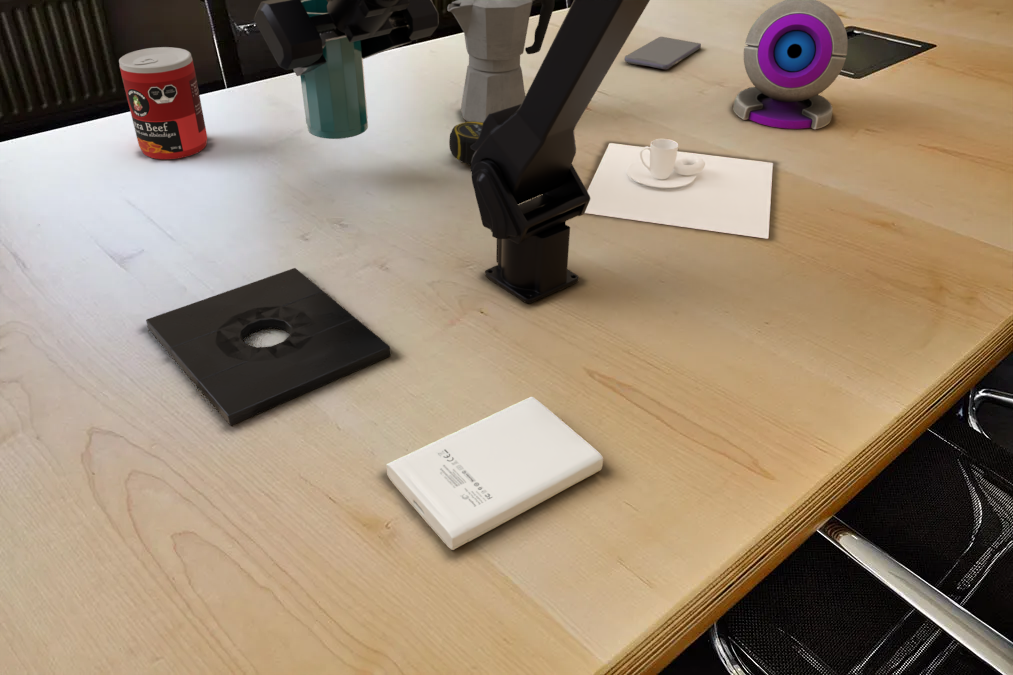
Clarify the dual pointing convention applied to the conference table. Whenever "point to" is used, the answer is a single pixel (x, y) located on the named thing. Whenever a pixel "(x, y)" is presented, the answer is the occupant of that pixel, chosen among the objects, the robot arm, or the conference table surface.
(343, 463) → the conference table surface
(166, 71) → the canned food
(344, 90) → the tumbler
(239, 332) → the drain plate
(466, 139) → the tape measure
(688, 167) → the teacup and saucer
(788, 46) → the webcam
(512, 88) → the coffeepot
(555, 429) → the hard drive
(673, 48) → the smartphone
